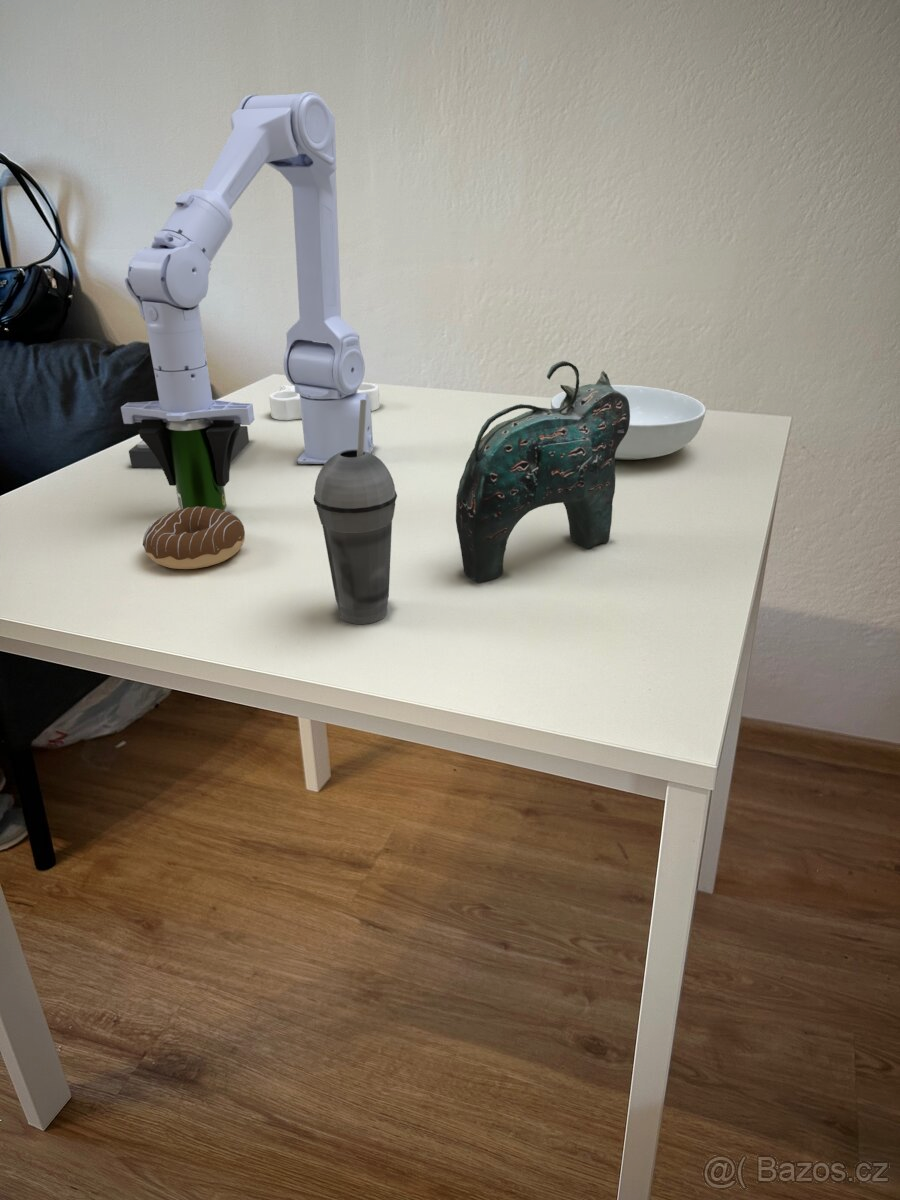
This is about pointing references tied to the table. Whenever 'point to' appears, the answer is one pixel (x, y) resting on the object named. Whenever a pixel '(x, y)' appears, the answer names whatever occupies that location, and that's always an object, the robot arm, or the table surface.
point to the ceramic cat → (542, 472)
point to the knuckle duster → (289, 405)
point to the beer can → (194, 464)
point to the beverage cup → (357, 529)
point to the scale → (146, 459)
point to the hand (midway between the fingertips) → (199, 483)
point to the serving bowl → (655, 421)
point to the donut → (194, 538)
